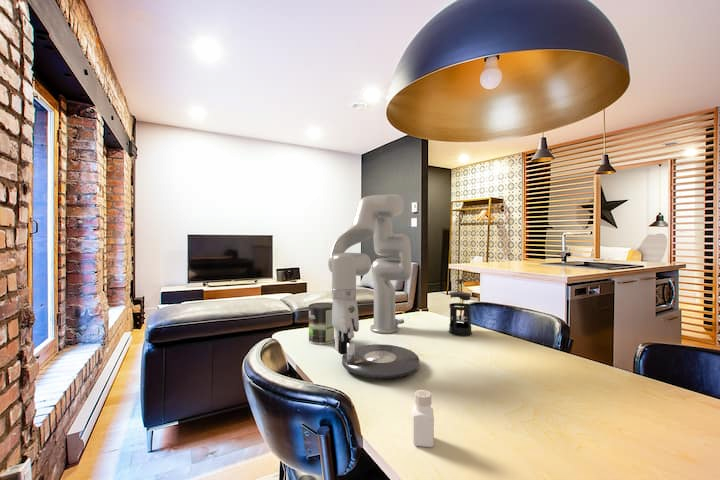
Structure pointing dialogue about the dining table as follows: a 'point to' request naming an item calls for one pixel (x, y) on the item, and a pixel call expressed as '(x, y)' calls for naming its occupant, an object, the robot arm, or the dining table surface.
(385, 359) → the turntable
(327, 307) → the coffee can
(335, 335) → the drinking glass
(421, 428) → the white pill bottle
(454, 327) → the french press
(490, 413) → the dining table surface
